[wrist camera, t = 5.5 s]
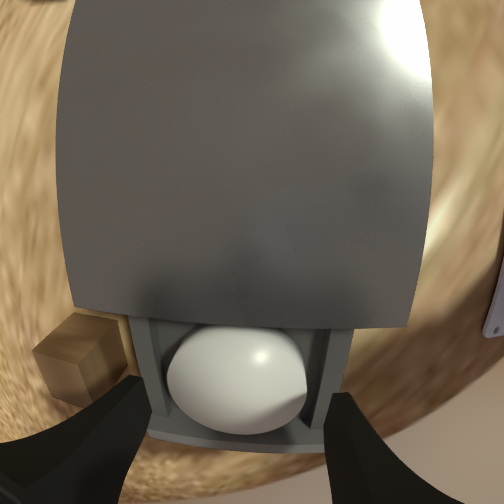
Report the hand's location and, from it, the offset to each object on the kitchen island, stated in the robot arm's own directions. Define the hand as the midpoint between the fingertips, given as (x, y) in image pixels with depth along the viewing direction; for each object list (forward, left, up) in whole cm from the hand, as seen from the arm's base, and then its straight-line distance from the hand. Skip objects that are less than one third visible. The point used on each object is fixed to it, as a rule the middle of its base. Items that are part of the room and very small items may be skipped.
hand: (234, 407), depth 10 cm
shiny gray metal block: (0, -9, -4) cm, 10 cm away
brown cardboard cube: (+8, +1, -4) cm, 9 cm away
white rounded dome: (0, 0, -2) cm, 2 cm away
